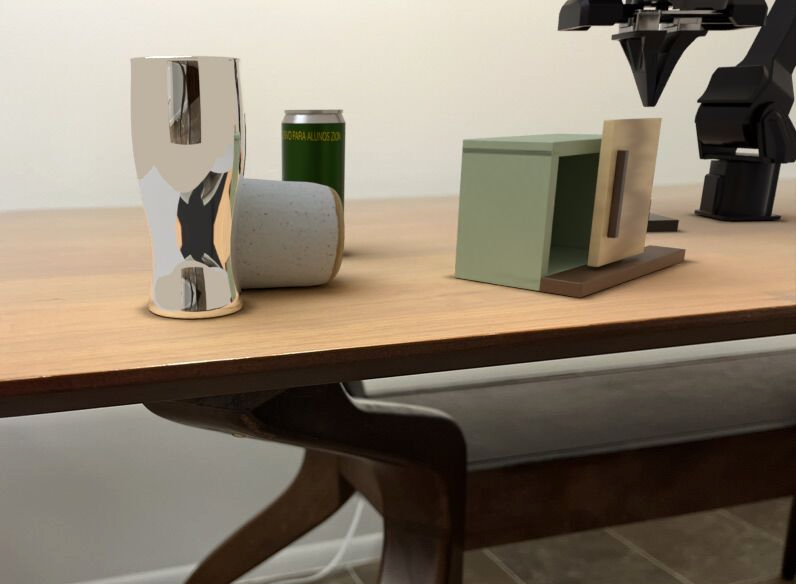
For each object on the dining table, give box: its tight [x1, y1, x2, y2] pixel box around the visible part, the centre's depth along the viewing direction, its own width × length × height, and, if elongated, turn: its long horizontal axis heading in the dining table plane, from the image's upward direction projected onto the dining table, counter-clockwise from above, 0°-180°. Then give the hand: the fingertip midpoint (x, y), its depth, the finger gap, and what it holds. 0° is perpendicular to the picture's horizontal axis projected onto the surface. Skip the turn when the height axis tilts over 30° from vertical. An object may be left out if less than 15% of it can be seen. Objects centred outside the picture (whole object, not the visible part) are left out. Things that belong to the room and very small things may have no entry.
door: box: [587, 117, 663, 267], centre depth 59 cm, size 8×1×10 cm, turn 135°
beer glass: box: [128, 55, 247, 319], centre depth 50 cm, size 7×7×15 cm
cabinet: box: [454, 133, 687, 299], centre depth 62 cm, size 18×10×10 cm, turn 135°
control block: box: [646, 201, 680, 233], centre depth 84 cm, size 10×7×3 cm
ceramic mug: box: [235, 177, 346, 290], centre depth 59 cm, size 11×8×8 cm
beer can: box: [280, 109, 347, 213], centre depth 69 cm, size 5×5×12 cm
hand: (649, 106), depth 83 cm, fingers closed
